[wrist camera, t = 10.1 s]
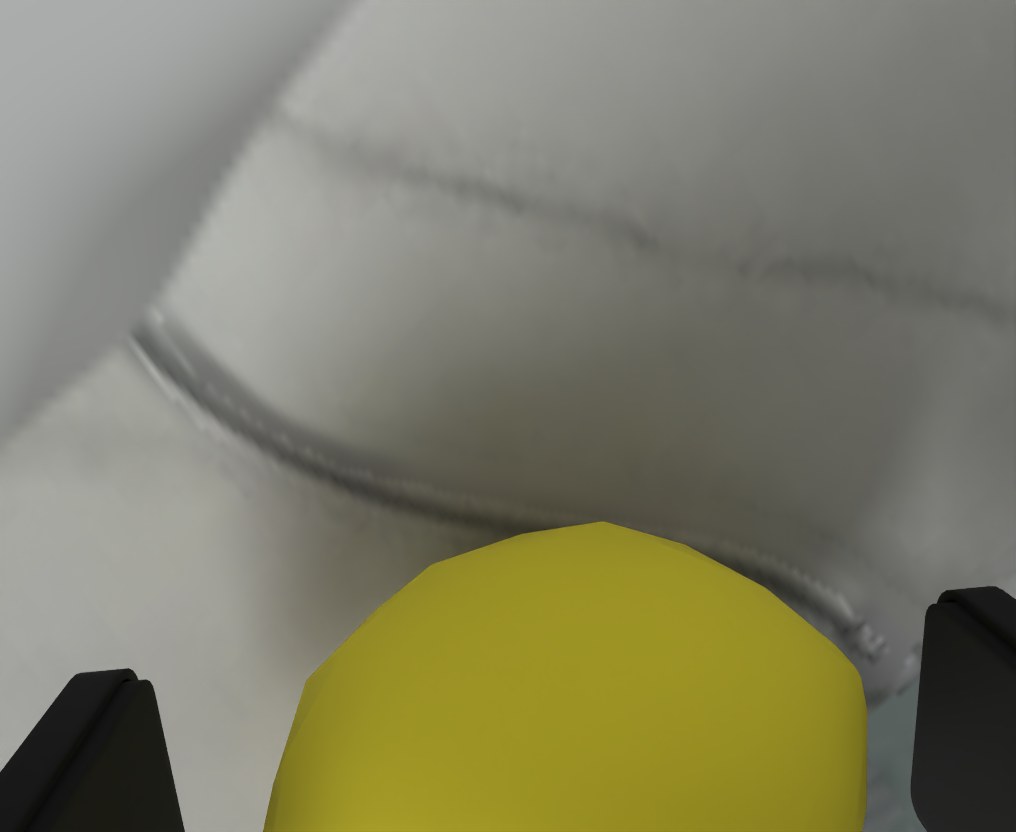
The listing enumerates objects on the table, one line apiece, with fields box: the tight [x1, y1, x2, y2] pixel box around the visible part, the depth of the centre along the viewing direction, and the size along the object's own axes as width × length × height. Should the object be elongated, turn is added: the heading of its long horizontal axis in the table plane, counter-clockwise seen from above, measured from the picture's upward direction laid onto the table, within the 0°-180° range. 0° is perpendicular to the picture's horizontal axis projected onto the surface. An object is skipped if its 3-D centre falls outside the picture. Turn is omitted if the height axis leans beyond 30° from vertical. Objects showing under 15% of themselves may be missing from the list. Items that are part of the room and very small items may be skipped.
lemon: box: [263, 521, 867, 832], centre depth 9 cm, size 7×5×5 cm
